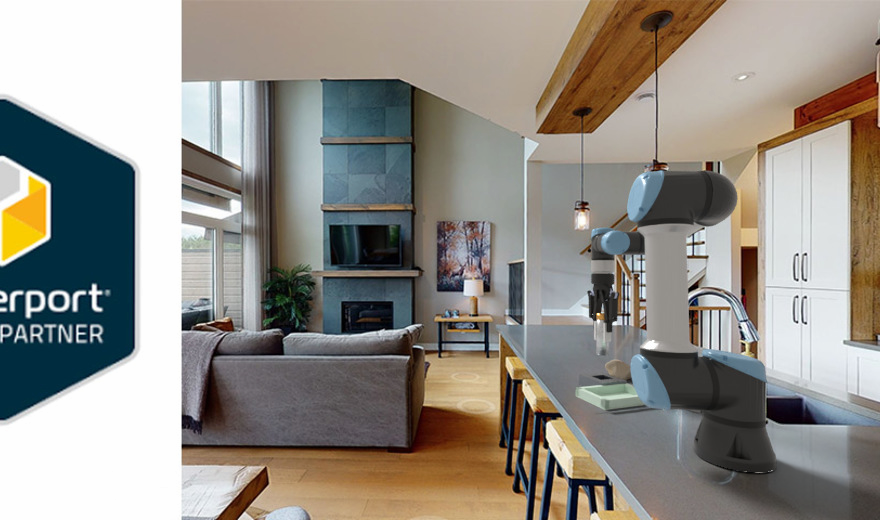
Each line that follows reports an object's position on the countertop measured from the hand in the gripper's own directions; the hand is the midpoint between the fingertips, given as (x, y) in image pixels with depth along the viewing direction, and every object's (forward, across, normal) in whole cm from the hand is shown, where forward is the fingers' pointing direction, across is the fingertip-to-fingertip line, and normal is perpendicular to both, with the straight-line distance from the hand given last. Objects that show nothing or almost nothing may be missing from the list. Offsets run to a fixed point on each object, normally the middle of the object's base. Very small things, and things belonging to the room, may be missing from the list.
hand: (602, 340), depth 146 cm
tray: (+17, -12, +5) cm, 21 cm away
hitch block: (+17, 0, 0) cm, 17 cm away
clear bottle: (+5, 0, 0) cm, 5 cm away
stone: (+17, +8, -15) cm, 24 cm away
